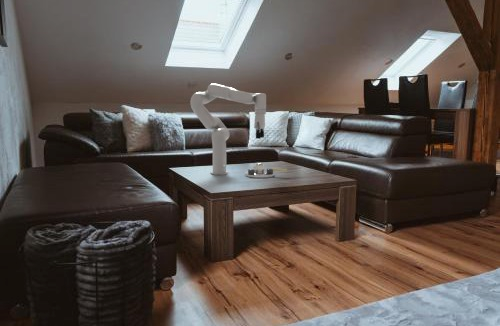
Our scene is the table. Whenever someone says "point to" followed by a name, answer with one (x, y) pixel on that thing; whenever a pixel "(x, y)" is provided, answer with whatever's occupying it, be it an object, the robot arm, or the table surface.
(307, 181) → the table surface
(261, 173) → the tribrach
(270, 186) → the table surface
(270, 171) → the footscrew knob
